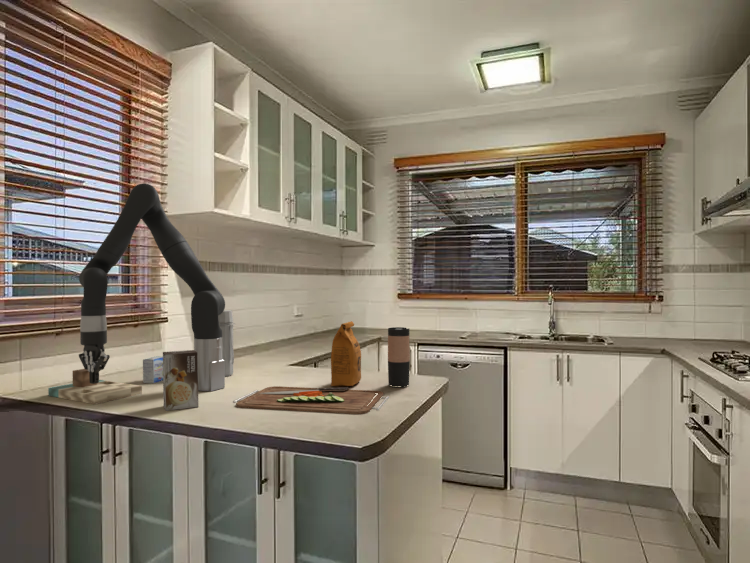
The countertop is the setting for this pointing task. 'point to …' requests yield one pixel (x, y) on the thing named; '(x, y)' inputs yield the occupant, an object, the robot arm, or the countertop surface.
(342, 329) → the coffee package
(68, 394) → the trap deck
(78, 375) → the walnut block
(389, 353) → the travel mug
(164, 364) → the coffee box
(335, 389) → the chopping board
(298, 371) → the countertop surface
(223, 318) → the water bottle
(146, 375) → the medicine box
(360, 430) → the countertop surface
